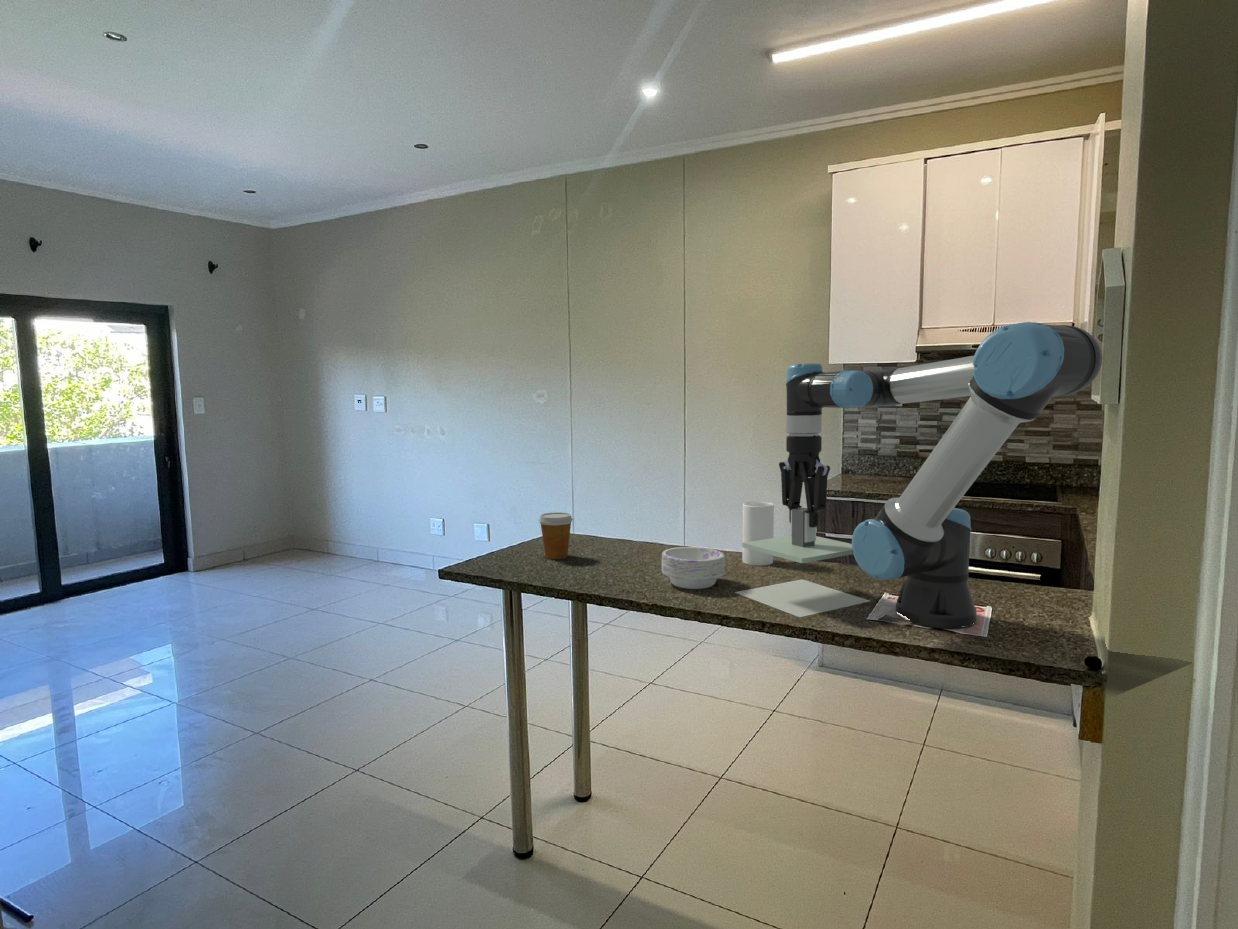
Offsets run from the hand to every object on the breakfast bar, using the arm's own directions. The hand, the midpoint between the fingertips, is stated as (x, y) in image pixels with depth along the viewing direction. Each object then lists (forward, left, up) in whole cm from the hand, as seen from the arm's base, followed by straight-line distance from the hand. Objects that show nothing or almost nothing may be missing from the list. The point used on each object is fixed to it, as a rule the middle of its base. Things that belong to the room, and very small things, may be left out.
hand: (803, 539), depth 159 cm
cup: (+31, -14, -14) cm, 37 cm away
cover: (0, 0, -2) cm, 2 cm away
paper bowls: (+22, +14, -14) cm, 30 cm away
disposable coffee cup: (+66, +30, -14) cm, 74 cm away
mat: (0, 0, -13) cm, 13 cm away
